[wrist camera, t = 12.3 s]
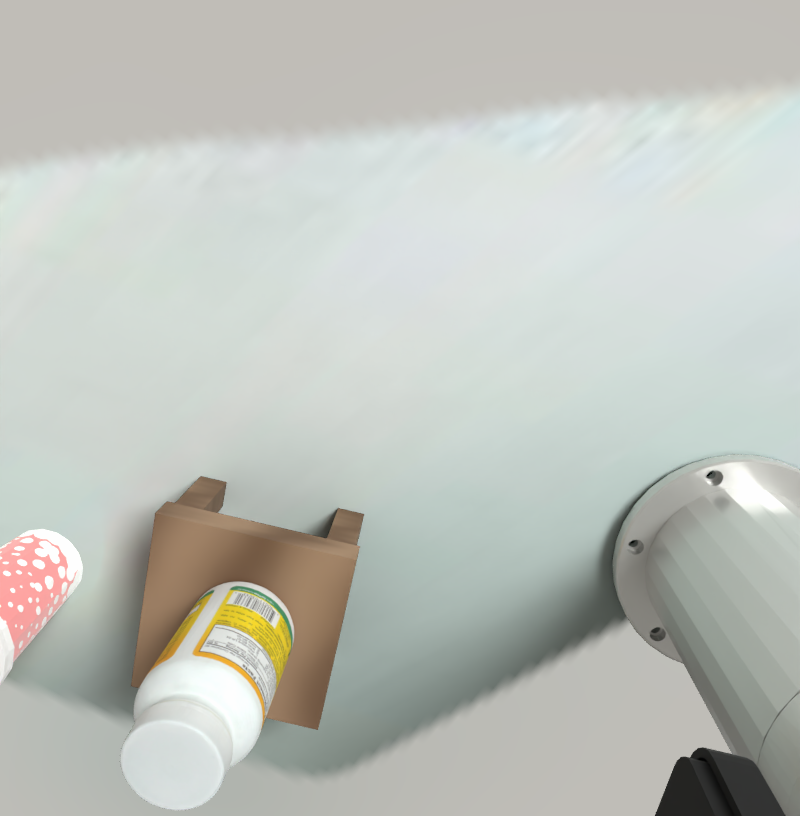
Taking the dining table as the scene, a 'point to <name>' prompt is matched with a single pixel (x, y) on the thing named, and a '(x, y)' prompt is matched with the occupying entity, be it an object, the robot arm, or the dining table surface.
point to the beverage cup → (33, 588)
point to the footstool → (259, 564)
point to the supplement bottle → (207, 696)
